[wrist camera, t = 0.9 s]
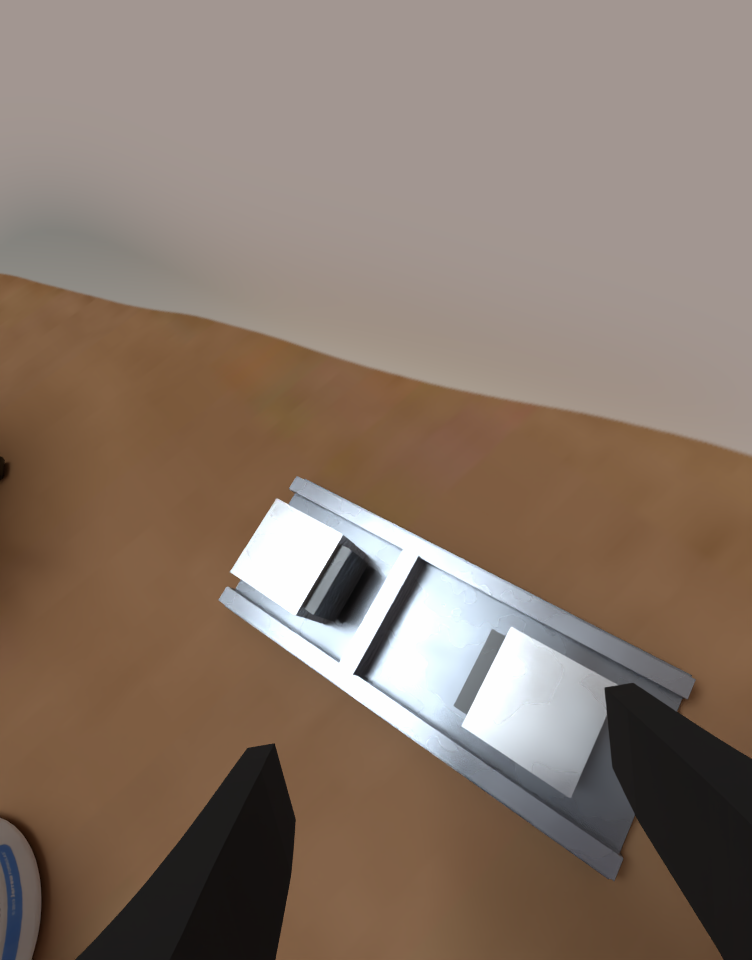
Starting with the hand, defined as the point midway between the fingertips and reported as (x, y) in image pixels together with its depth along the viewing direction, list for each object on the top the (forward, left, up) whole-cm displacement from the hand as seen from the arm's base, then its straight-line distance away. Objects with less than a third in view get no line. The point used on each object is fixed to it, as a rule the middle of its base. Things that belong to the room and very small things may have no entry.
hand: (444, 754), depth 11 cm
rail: (+4, -2, -12) cm, 13 cm away
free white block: (-1, -2, -12) cm, 12 cm away
